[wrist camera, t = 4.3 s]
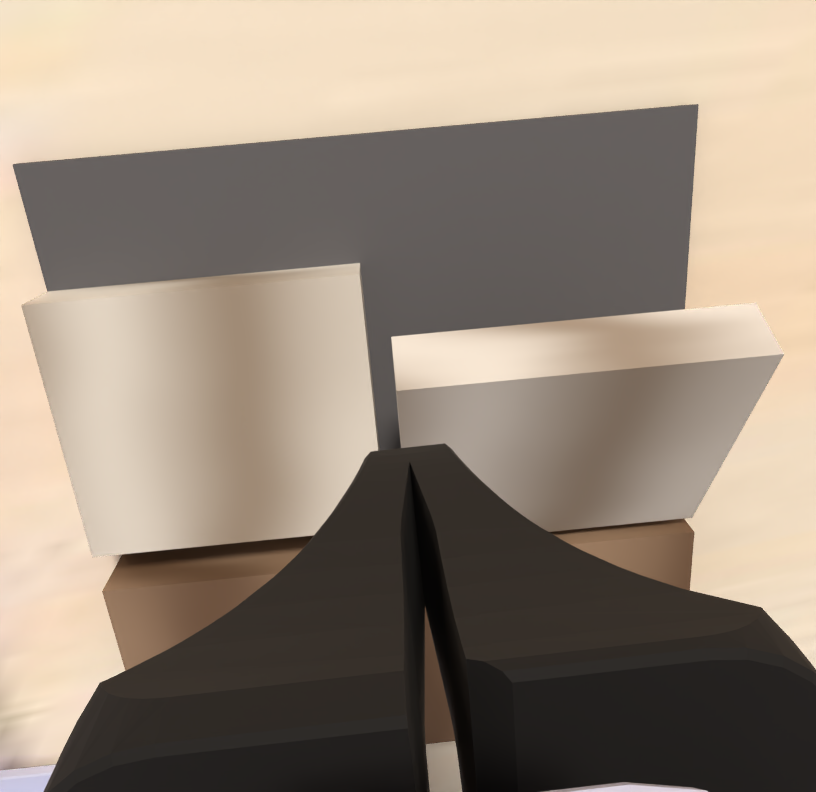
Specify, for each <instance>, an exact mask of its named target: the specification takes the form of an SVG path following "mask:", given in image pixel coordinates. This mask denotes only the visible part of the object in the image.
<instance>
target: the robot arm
mask: <svg viewBox="0 0 816 792" xmlns="http://www.w3.org/2000/svg"><path fill="white" fill-rule="evenodd" d="M425 608H426V612H427V617H428V621H429V625H430V630H431V634H432V638H433V643H434V647H435V651H436V656H437V660H438V664H439V669H440V673H441V677H442V681H443V686H444V690H445V694H446V699H447V703H448V707H449V712H450V716H451V720H452V725H453V731H454V736H455V741H456V747H457V753H458V761H459V769H460V776H461V784H462V791H463V792H816V670H815V668H814V667H813V666H812V664H811V663H810V661H809V660H808V659H807V658H806V657H805V655H804V654H803V653H802V652H801V650H800V649H799V648H798V647H797V646H796V644H795V643H794V642H793V641H792V640H791V639H790V637H789V636H788V635H787V634H786V633H785V632H784V631H783V630H782V629H781V628H780V627H779V626H778V625H777V624H776V623H775V622H774V621H773V620H772V618H771V617H770V616H769V615H768V614H767V613H766V612H765V611H764V610H763V609H762V608H761V607H757V606H753V605H749V604H744V603H740V602H736V601H732V600H727V599H723V598H719V597H715V596H710V595H706V594H702V593H698V592H693V591H689V590H686V589H682V588H679V587H676V586H673V585H670V584H666V583H663V582H660V581H657V580H654V579H651V578H648V577H645V576H642V575H639V574H637V573H634V572H631V571H629V570H626V569H623V568H621V567H618V566H616V565H613V564H611V563H609V562H607V561H605V560H602V559H600V558H598V557H596V556H593V555H591V554H589V553H587V552H584V551H582V550H580V549H578V548H576V547H574V546H573V545H571V544H569V543H567V542H565V541H563V540H561V539H560V538H558V537H556V536H555V535H553V534H551V533H550V532H548V531H546V530H544V529H543V528H541V527H539V526H538V525H536V524H535V523H533V522H532V521H530V520H529V519H527V518H526V517H524V516H523V515H522V514H520V513H519V512H518V511H516V510H515V509H514V508H512V507H511V506H510V505H509V504H507V503H506V502H505V501H504V500H502V499H501V498H500V497H499V496H498V495H497V494H496V493H494V492H493V491H492V490H491V489H490V488H489V487H488V486H487V485H486V484H484V483H483V482H482V481H481V480H480V479H479V478H478V477H477V476H476V475H475V474H474V473H473V472H472V471H471V470H470V469H469V468H468V467H467V466H466V465H465V464H464V462H463V461H462V460H461V459H460V458H459V457H458V456H457V455H456V453H455V452H454V451H453V450H452V449H451V448H450V447H449V446H448V445H446V444H445V443H443V444H434V445H425V446H416V447H407V448H398V449H389V450H380V451H371V452H370V453H369V454H368V455H367V456H366V457H365V459H364V461H363V463H362V465H361V467H360V469H359V471H358V473H357V474H356V476H355V478H354V480H353V481H352V483H351V485H350V486H349V488H348V489H347V491H346V492H345V494H344V495H343V497H342V498H341V500H340V501H339V503H338V504H337V506H336V507H335V509H334V510H333V512H332V513H331V515H330V516H329V517H328V519H327V520H326V521H325V522H324V524H323V525H322V526H321V527H320V529H319V530H318V531H317V532H316V534H315V535H314V536H313V537H312V539H311V540H310V541H309V542H308V543H307V545H306V546H305V547H304V548H303V549H302V550H301V551H300V552H299V553H298V555H297V556H296V557H295V558H293V559H292V560H291V561H290V562H289V563H288V564H287V565H286V566H285V567H284V568H283V569H282V570H281V571H280V572H279V573H278V574H276V575H275V576H274V577H273V578H272V579H271V580H269V581H268V582H267V583H265V584H264V585H263V586H262V587H260V588H259V589H258V590H257V591H255V592H254V593H253V594H252V595H250V596H249V597H248V598H246V599H245V600H244V601H243V602H241V603H240V604H239V605H238V606H236V607H235V608H234V609H232V610H231V611H229V612H228V613H226V614H225V615H223V616H222V617H220V618H219V619H217V620H216V621H214V622H213V623H211V624H210V625H208V626H207V627H205V628H203V629H202V630H200V631H198V632H197V633H195V634H194V635H192V636H190V637H189V638H187V639H185V640H184V641H182V642H180V643H178V644H177V645H175V646H173V647H171V648H169V649H168V650H166V651H164V652H162V653H160V654H158V655H156V656H154V657H152V658H150V659H148V660H146V661H144V662H142V663H140V664H138V665H136V666H134V667H132V668H130V669H128V670H126V671H124V672H122V673H120V674H118V675H116V676H114V677H112V678H110V679H108V680H105V681H103V682H101V683H100V684H99V685H98V687H97V689H96V691H95V692H94V694H93V696H92V697H91V699H90V701H89V703H88V704H87V706H86V708H85V709H84V711H83V713H82V714H81V716H80V718H79V719H78V721H77V723H76V725H75V727H74V729H73V731H72V733H71V735H70V737H69V739H68V741H67V743H66V745H65V747H64V749H63V751H62V753H61V755H60V757H59V759H58V762H57V764H56V765H47V766H38V767H28V768H19V769H9V770H0V792H430V790H429V780H428V769H427V759H426V742H425Z"/></svg>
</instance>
